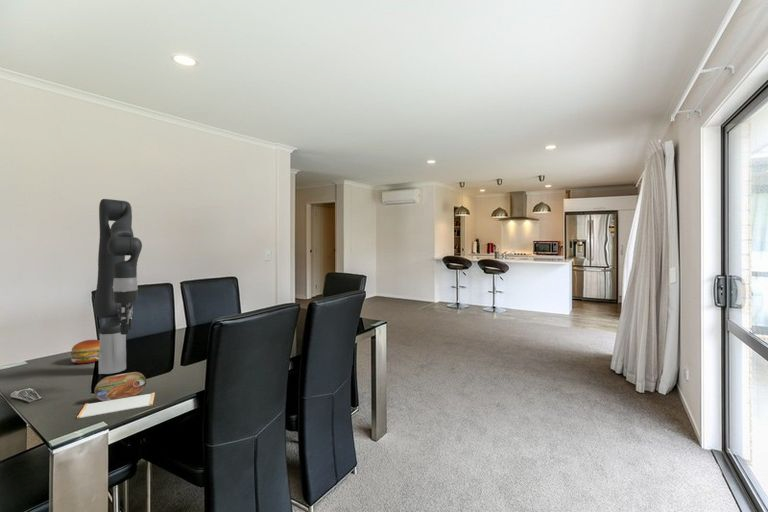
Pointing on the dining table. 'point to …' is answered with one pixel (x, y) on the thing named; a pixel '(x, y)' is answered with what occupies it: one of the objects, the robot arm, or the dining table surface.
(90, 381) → the dining table surface
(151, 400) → the mat
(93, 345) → the burger
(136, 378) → the tin
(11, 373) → the dining table surface
